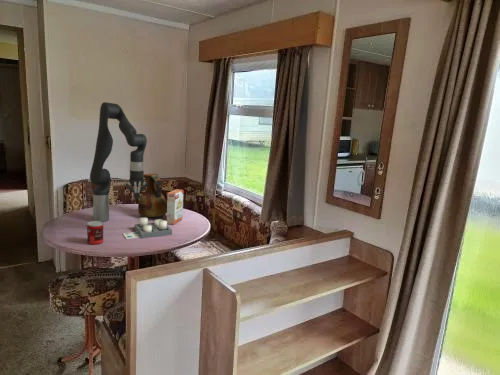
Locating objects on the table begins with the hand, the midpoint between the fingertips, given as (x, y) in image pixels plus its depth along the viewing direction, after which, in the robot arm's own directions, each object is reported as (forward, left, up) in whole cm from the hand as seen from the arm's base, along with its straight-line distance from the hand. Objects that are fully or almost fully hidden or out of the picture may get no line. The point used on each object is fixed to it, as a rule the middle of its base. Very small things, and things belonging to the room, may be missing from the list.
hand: (136, 198), depth 203 cm
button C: (+5, -4, -20) cm, 21 cm away
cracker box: (+29, +16, -22) cm, 39 cm away
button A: (+5, +5, -18) cm, 20 cm away
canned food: (-23, -6, -22) cm, 32 cm away
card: (-3, -2, -21) cm, 22 cm away
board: (+10, 0, -21) cm, 23 cm away
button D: (+14, -4, -18) cm, 24 cm away
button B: (+14, +5, -20) cm, 25 cm away
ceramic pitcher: (+19, +32, -22) cm, 43 cm away
